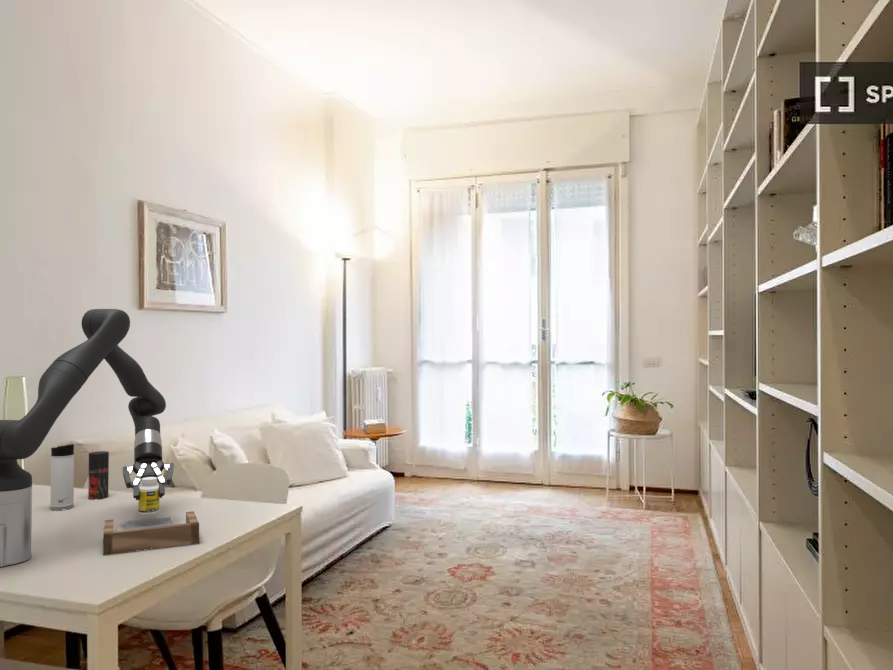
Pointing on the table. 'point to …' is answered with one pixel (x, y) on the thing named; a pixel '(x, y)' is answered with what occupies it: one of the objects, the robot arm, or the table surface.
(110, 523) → the walnut bay
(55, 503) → the travel mug
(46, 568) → the table surface
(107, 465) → the deodorant
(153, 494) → the supplement bottle
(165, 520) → the slate pad
